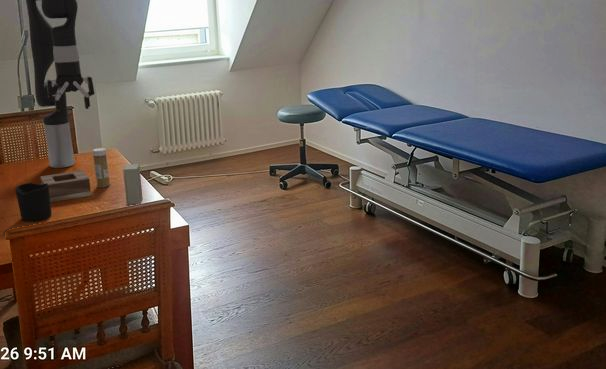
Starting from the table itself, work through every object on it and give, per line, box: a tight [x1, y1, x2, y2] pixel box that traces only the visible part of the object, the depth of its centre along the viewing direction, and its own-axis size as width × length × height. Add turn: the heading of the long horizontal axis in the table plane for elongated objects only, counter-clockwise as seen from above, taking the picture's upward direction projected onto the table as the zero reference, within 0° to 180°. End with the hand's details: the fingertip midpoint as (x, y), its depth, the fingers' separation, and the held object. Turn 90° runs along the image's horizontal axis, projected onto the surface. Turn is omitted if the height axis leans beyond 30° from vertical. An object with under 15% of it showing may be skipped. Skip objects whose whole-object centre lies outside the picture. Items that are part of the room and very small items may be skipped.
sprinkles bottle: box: [92, 147, 111, 188], centre depth 224 cm, size 5×5×13 cm
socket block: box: [39, 170, 92, 203], centre depth 216 cm, size 12×14×6 cm
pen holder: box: [14, 182, 52, 223], centre depth 194 cm, size 9×9×10 cm
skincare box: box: [122, 163, 143, 206], centre depth 206 cm, size 6×4×12 cm
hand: (73, 110), depth 207 cm, fingers open, 8 cm apart
